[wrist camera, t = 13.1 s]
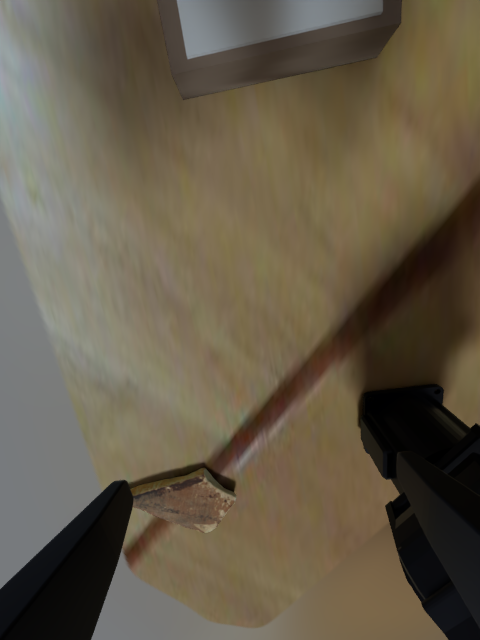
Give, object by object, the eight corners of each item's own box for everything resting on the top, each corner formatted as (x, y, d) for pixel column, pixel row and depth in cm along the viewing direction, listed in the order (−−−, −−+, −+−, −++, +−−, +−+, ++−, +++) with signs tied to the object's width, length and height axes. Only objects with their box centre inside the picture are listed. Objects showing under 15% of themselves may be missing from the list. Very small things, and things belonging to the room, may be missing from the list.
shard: (120, 487, 27) (112, 504, 25) (145, 437, 25) (138, 452, 23) (211, 522, 28) (208, 540, 27) (242, 477, 26) (241, 494, 24)
